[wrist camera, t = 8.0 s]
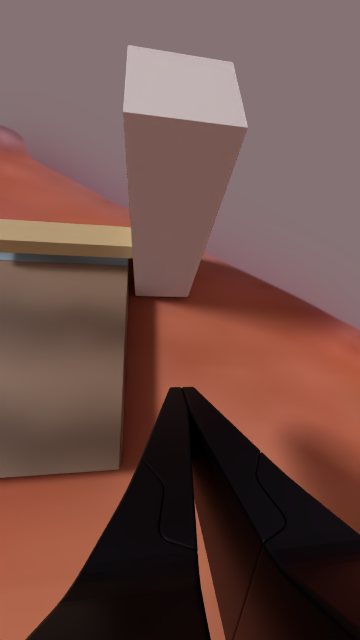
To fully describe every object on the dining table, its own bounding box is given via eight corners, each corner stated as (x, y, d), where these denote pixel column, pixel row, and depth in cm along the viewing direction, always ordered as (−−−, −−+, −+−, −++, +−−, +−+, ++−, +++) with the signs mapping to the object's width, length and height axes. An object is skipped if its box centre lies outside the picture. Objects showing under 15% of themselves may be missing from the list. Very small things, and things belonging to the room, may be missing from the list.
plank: (121, 463, 14) (118, 469, 13) (-71, 476, 13) (-108, 485, 11) (130, 252, 20) (129, 235, 18) (-4, 246, 19) (-21, 226, 17)
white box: (187, 297, 19) (247, 127, 8) (4, 292, 17) (-241, 65, 6) (185, 254, 21) (232, 62, 10) (16, 245, 19) (-165, -4, 8)
